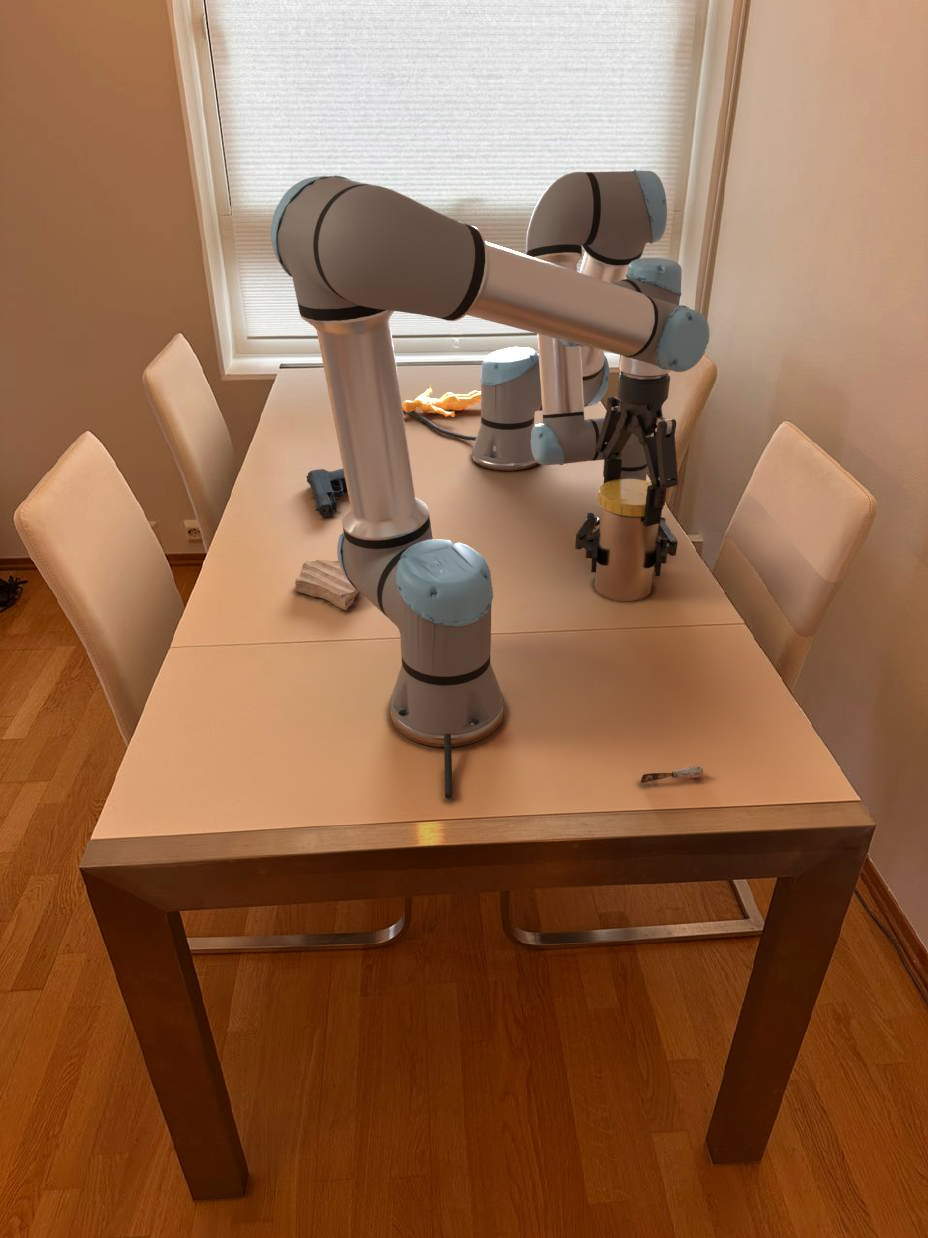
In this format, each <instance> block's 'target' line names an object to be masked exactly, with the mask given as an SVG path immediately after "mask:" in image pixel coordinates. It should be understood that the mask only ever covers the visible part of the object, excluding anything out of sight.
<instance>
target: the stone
mask: <svg viewBox="0 0 928 1238" xmlns="http://www.w3.org/2000/svg"><path fill="white" fill-rule="evenodd" d="M294 585H295V586H294V591H295V592H299V593H301V594H305V595H307V596H310V597H312V598H320V599H324V600H325V601H328V602H329V603H331V604H332V605H334V606H335V607H338V608H339V609H341V610H344V611H347V610H348V608H349V607H351V606H352V605H353V604H354V601H355V598H356V596H357V595H358V594H359V593H360V592H359V591H357V590H356V589H355V588H354V587H353V586H352V585H351V584H350V582H349V581H348V579H347V578H346V576H345V574H344V573H343V571H342V569H341V567H340V564H339V561H338V560H328V559H316V560H314V561H313V560H311V561H309V560H306V561H304V562H303V563H302V566H301V568H300V572H299V575H298V577H297V578H296V579H295V581H294Z"/></svg>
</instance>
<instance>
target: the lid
mask: <svg viewBox="0 0 928 1238" xmlns="http://www.w3.org/2000/svg"><path fill="white" fill-rule="evenodd" d="M649 485H652V483H651V481H649V480H646V481H645V480H640V479H616V480H612V481H608V482H606V483H604V482H603V483H602V485H600V487H599V491H598V495H597V496H598V498H597V502H598V505H599V506H600V508H601V507H602V508H604V509H605V510H607V511H609V512H611V513H614V514H618V515H623V516H631V517H641V516H644V514H645V505H646V496H647V487H648V486H649ZM666 499H667V497H665V501H666ZM665 506H666V503H665V504H664V506H663V507H662V510H663V509H664V508H665Z"/></svg>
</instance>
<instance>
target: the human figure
mask: <svg viewBox="0 0 928 1238" xmlns="http://www.w3.org/2000/svg"><path fill="white" fill-rule="evenodd" d="M424 391H425V392H423V393H422V394H420V395H418V396H416V398H415V399H414V400H404V401H402V407H403V412H405V413H409V412H412V411H415V412H417V408H418V409H420V410H421V411H423V412H424V413H427V414H439V415H443V416H444V417H449V416H450V417H451V418H452V417H453V418H454V417H455V416H456V414H455V411H462V410H464V409H467V408H469V407H471V406H473V405H476V404H478V403H481V390H480V391H478V390H473V391H470V392H469V393H468V394H460V393H457V394H455V393H453V392H446V393H444V394H443V395H442V396H441V397H440V398H434V397H429V396H430V395H432V394H433V392H434V391H433V389H432V385H429V387H428V389H424ZM450 410H452V411H450Z"/></svg>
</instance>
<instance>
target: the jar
mask: <svg viewBox="0 0 928 1238" xmlns="http://www.w3.org/2000/svg"><path fill="white" fill-rule="evenodd" d="M599 517H600V523H599V525H598V529H599V535H598V550H597V565H596V572H594V583H593V584H594V585H593V586H594V589H595V591H596V592H597V593H598V594H600V595H601V596H603V597H605V598H607V599H610V600H614V601H618V602H619V601H620V602H634V601H638V600H639V601H640V600H643V599H644V598H646V597H648V596H649V595H650V593H651V592H652V586H653V585H652V583H653V575H654V570H655V569H654V561H655V553H656V545H657V536H658V528H659V524H655V525H651V526H647V527H646V526H644V525H643V523H644V516H641V517H631V516H623V515H618V514H614V513H611V512H609V511H607V510H605V509H604V508H602V507H601V506H600V514H599Z"/></svg>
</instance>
